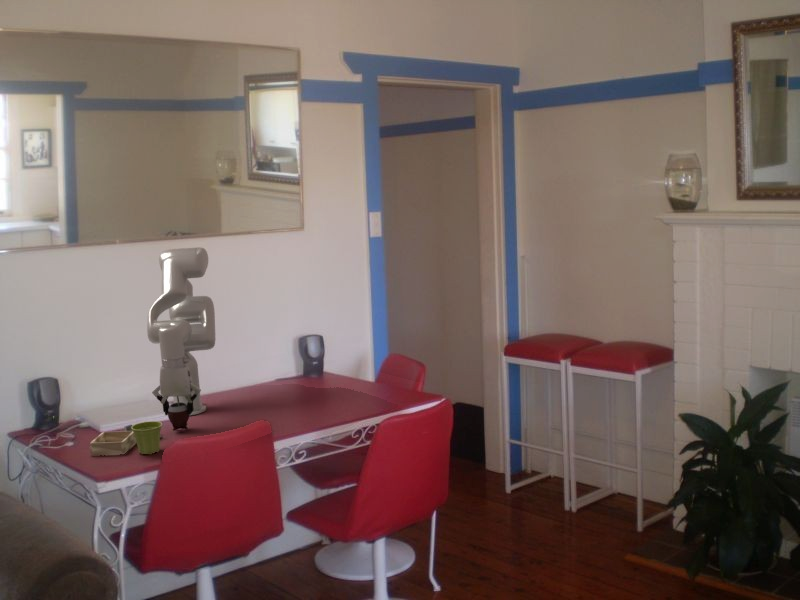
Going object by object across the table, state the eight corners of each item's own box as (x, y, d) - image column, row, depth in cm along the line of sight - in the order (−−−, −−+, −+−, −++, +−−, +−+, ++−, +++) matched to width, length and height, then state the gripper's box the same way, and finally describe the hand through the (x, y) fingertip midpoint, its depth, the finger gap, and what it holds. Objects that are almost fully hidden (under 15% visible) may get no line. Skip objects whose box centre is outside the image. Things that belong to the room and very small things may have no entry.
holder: (104, 443, 306) (103, 431, 306) (136, 442, 306) (135, 430, 305) (90, 455, 295) (89, 443, 294) (124, 454, 294) (122, 442, 293)
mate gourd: (180, 432, 311) (175, 389, 308) (163, 429, 315) (158, 386, 312) (196, 425, 317) (191, 382, 314) (179, 422, 321) (174, 379, 318)
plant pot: (137, 448, 300) (134, 422, 298) (167, 446, 301) (164, 419, 299) (131, 458, 291) (128, 431, 289) (161, 455, 291) (159, 428, 290)
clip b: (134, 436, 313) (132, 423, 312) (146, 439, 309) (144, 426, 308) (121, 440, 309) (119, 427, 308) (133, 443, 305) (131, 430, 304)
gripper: (202, 358, 314) (207, 409, 318) (151, 360, 315) (156, 410, 319) (196, 364, 307) (201, 416, 311) (144, 366, 308) (149, 418, 312)
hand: (178, 413), depth 315 cm, fingers closed on mate gourd, 7 cm apart
